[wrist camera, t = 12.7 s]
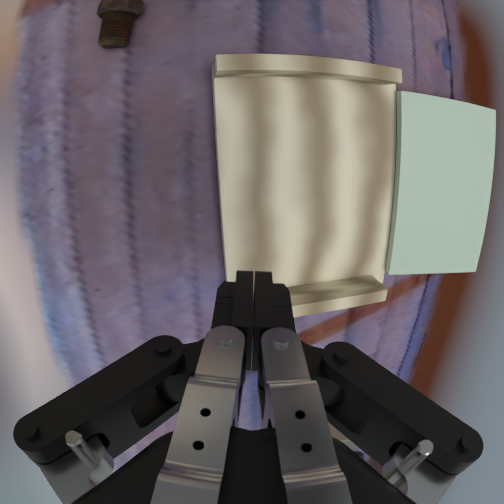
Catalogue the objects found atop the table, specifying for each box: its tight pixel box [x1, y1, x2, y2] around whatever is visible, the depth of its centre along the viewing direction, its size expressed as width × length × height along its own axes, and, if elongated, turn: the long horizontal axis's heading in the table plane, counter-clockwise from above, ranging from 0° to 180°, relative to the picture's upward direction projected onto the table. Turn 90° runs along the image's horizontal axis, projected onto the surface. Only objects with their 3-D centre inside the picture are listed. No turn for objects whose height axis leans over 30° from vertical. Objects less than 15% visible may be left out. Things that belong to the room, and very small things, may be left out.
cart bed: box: [212, 54, 402, 317], centre depth 32 cm, size 20×26×7 cm
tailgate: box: [385, 91, 496, 275], centre depth 33 cm, size 2×22×14 cm
